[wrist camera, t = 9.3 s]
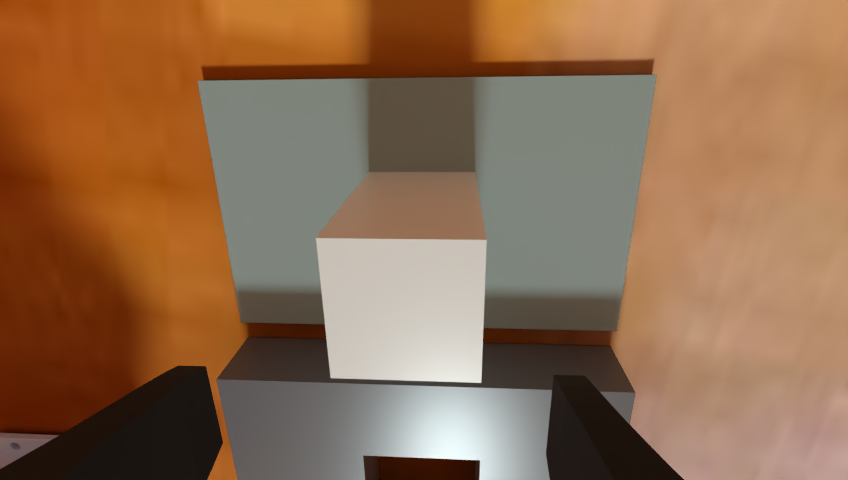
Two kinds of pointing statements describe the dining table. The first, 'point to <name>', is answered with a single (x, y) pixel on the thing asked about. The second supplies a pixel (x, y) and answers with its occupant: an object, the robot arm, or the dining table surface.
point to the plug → (405, 279)
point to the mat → (437, 152)
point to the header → (399, 411)
